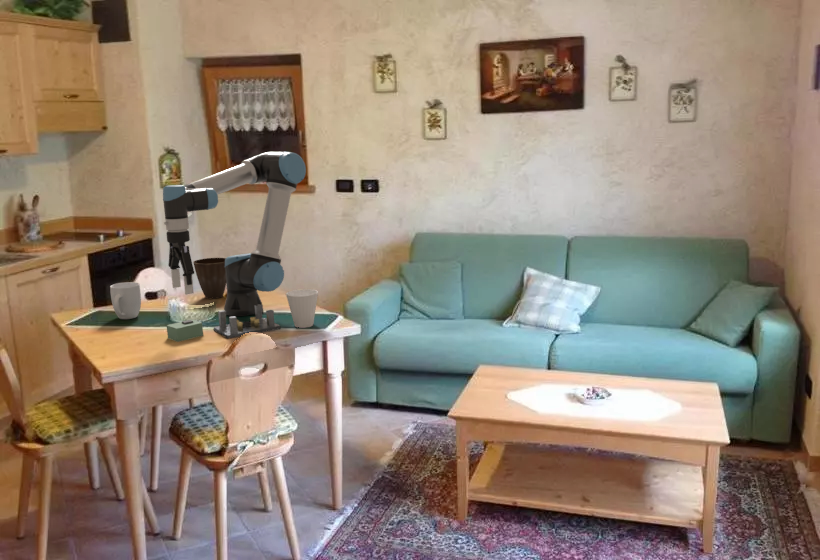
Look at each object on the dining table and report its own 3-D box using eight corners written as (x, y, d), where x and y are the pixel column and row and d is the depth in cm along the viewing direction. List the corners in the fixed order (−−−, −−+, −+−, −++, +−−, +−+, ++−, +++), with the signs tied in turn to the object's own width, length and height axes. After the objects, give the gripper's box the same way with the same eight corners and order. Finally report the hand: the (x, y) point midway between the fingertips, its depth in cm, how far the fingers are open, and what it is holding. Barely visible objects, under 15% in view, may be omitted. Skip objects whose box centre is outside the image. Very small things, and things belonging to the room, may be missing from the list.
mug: (132, 323, 294) (128, 290, 291) (104, 323, 295) (100, 290, 292) (147, 313, 309) (144, 281, 306) (120, 313, 309) (117, 282, 307)
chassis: (227, 338, 270) (226, 319, 268) (213, 330, 281) (212, 311, 280) (280, 328, 280) (279, 310, 279) (265, 321, 292) (263, 303, 290)
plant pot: (204, 292, 343) (200, 257, 339) (236, 292, 341) (233, 257, 338) (191, 300, 328) (188, 264, 325) (225, 300, 327) (222, 263, 323)
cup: (291, 321, 290) (288, 289, 288) (322, 320, 290) (320, 288, 287) (285, 329, 279) (282, 296, 276) (317, 329, 278) (315, 295, 276)
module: (177, 342, 268) (176, 326, 267) (167, 338, 273) (166, 323, 271) (203, 336, 275) (202, 321, 274) (193, 332, 280) (191, 317, 278)
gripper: (155, 227, 274) (161, 286, 278) (178, 235, 253) (184, 298, 258) (176, 225, 278) (182, 283, 282) (200, 233, 257) (205, 295, 262)
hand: (183, 290), depth 270 cm, fingers open, 13 cm apart
